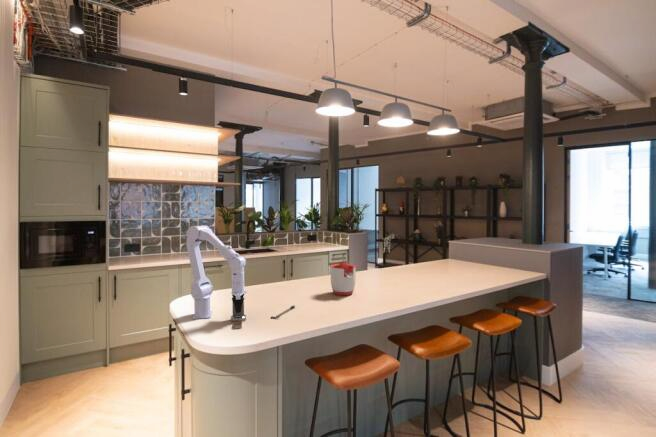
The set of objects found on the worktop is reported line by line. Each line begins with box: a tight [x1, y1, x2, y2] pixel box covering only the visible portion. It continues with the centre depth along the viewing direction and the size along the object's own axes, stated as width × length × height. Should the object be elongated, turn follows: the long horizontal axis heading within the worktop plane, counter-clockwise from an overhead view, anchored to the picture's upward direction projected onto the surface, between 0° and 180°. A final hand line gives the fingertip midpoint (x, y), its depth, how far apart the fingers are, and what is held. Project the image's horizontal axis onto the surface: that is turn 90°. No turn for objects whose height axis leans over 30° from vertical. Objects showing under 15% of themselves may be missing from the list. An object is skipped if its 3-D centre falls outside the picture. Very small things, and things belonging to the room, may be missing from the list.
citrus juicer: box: [330, 260, 357, 296], centre depth 219 cm, size 16×17×20 cm
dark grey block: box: [231, 300, 245, 317], centre depth 170 cm, size 5×5×6 cm
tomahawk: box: [270, 305, 296, 320], centre depth 181 cm, size 21×7×1 cm, turn 155°
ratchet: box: [230, 314, 247, 330], centre depth 166 cm, size 16×7×5 cm, turn 14°
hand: (238, 310), depth 170 cm, fingers closed on dark grey block, 5 cm apart
